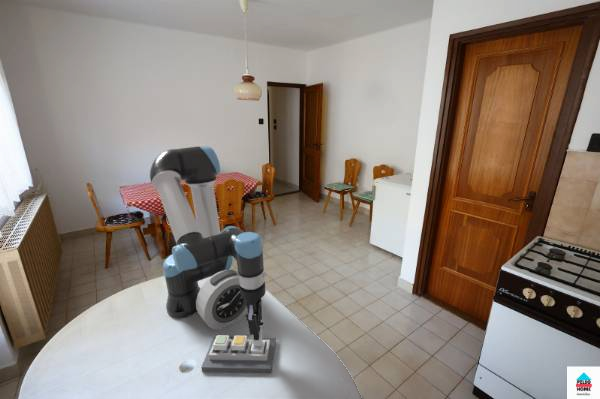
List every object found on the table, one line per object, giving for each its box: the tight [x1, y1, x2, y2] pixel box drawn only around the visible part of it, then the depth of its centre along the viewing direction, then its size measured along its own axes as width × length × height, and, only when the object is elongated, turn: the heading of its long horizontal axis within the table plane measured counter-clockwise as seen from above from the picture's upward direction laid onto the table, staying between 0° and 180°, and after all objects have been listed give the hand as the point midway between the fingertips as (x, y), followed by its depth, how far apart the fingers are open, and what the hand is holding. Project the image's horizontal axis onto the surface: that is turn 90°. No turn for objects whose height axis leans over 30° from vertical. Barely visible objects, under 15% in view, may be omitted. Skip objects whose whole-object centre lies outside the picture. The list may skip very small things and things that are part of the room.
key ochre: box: [232, 335, 248, 350], centre depth 92 cm, size 4×4×2 cm
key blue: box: [251, 341, 265, 354], centre depth 92 cm, size 4×4×2 cm
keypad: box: [201, 336, 277, 374], centre depth 93 cm, size 22×12×4 cm, turn 88°
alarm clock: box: [196, 269, 248, 331], centre depth 108 cm, size 21×8×20 cm, turn 132°
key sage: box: [213, 334, 230, 350], centre depth 92 cm, size 4×4×2 cm
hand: (258, 344), depth 91 cm, fingers closed
